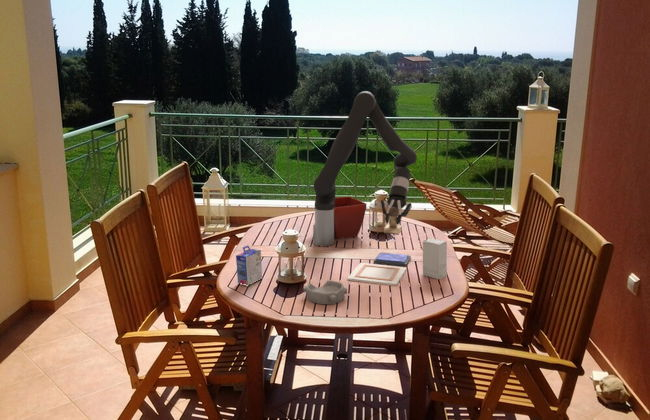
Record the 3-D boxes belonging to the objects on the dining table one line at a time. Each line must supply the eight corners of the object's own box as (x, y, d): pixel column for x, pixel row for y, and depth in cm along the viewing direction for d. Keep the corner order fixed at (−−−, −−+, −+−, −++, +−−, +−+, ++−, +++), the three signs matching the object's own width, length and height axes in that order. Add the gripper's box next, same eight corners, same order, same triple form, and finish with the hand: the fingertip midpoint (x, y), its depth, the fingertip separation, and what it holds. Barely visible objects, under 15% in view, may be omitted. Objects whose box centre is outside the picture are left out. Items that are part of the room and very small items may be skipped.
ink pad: (373, 263, 272) (373, 259, 271) (379, 255, 282) (379, 251, 281) (405, 266, 267) (406, 262, 267) (410, 258, 277) (410, 254, 277)
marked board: (347, 280, 251) (347, 277, 251) (360, 264, 270) (360, 262, 270) (396, 285, 245) (396, 283, 245) (406, 269, 264) (406, 266, 264)
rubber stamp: (384, 233, 270) (384, 208, 267) (387, 229, 275) (388, 204, 273) (398, 235, 268) (399, 209, 265) (401, 231, 274) (402, 205, 271)
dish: (299, 298, 233) (298, 285, 232) (325, 289, 242) (325, 276, 241) (326, 309, 223) (326, 296, 222) (353, 299, 232) (353, 286, 231)
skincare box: (446, 276, 256) (448, 241, 252) (437, 280, 252) (439, 244, 248) (430, 271, 261) (431, 237, 258) (421, 274, 257) (422, 239, 254)
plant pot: (315, 232, 318) (315, 199, 314) (349, 227, 326) (349, 196, 322) (331, 242, 302) (331, 207, 298) (367, 237, 309) (367, 204, 305)
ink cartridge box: (251, 277, 255) (250, 242, 251) (262, 279, 252) (262, 244, 249) (236, 284, 247) (235, 249, 243) (247, 287, 244) (246, 251, 240)
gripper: (382, 183, 276) (374, 217, 267) (414, 186, 272) (408, 220, 263) (384, 192, 282) (377, 225, 274) (416, 195, 278) (409, 229, 270)
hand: (392, 222), depth 269 cm, fingers closed on rubber stamp, 4 cm apart
